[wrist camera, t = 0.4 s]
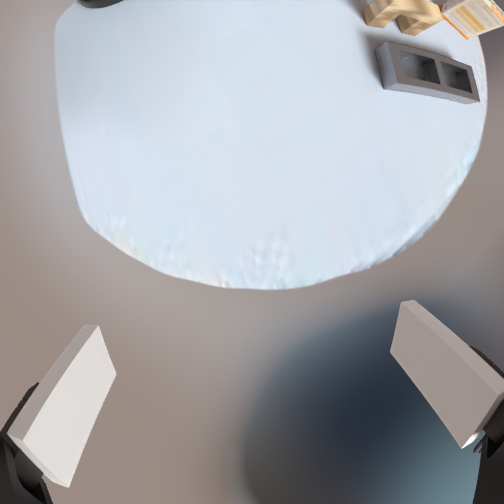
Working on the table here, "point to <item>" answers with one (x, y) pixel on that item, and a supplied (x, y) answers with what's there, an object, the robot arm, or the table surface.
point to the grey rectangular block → (425, 73)
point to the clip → (403, 14)
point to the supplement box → (473, 16)
